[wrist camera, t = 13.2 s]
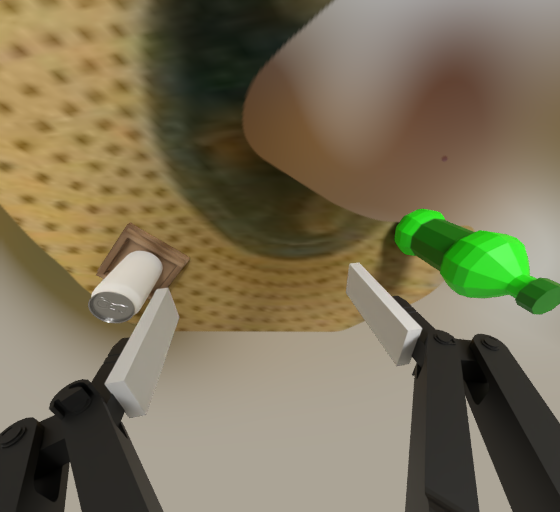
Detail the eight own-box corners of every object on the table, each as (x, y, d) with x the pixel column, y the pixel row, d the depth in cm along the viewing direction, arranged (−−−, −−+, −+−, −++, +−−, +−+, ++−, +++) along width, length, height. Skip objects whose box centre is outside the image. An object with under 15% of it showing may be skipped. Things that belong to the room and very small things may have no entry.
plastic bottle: (383, 252, 50) (495, 340, 28) (388, 206, 44) (531, 272, 23) (424, 244, 50) (563, 324, 29) (434, 198, 45) (613, 254, 24)
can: (131, 243, 39) (91, 282, 28) (168, 258, 41) (144, 299, 31) (120, 271, 41) (78, 317, 30) (156, 284, 43) (129, 330, 33)
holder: (100, 268, 41) (92, 275, 39) (129, 222, 38) (123, 227, 36) (159, 296, 46) (155, 304, 43) (190, 257, 43) (187, 264, 40)
